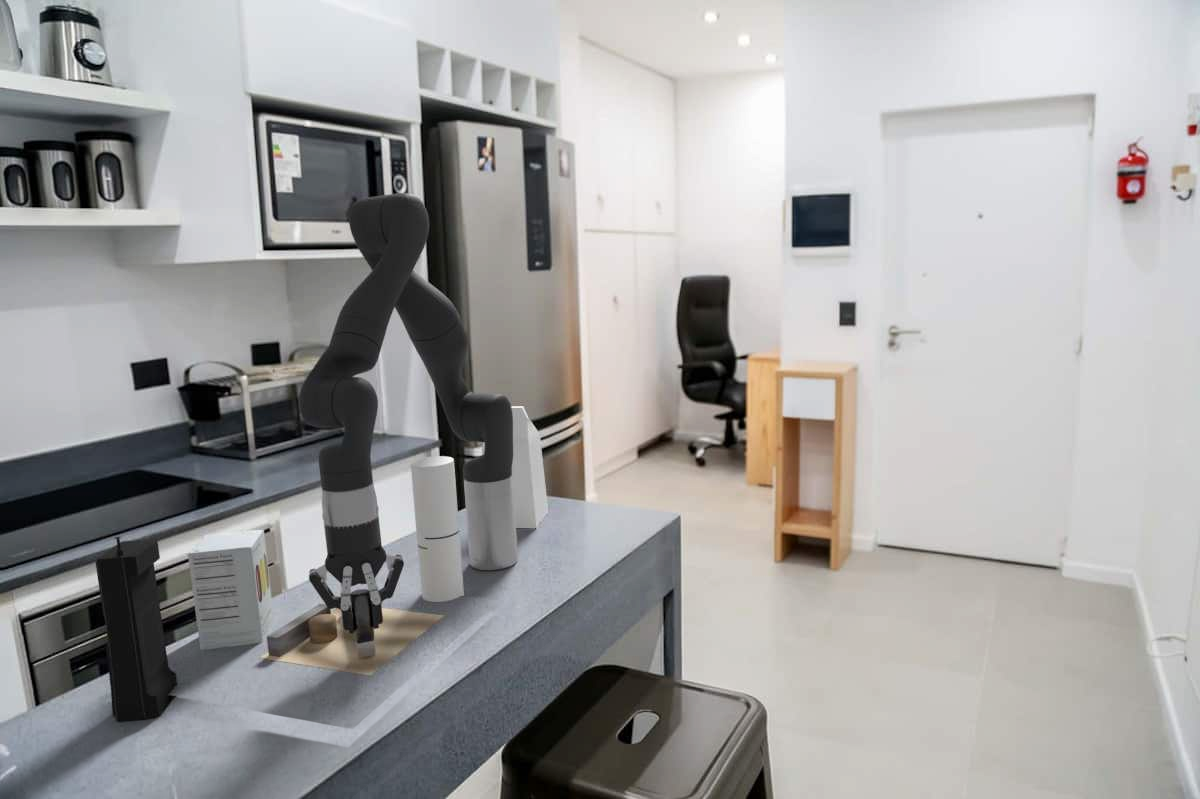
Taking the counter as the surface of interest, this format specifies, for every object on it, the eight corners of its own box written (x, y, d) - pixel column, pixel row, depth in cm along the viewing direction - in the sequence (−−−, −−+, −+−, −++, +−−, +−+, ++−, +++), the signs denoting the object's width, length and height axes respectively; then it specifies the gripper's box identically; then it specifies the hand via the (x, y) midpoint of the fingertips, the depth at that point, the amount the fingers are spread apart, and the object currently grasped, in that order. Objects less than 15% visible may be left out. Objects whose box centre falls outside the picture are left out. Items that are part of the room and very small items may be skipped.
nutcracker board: (344, 611, 141) (342, 586, 140) (445, 624, 134) (442, 598, 133) (260, 667, 122) (256, 638, 121) (371, 685, 115) (368, 655, 115)
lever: (342, 609, 137) (337, 556, 135) (365, 604, 138) (360, 552, 137) (354, 659, 119) (348, 599, 118) (379, 653, 121) (374, 594, 119)
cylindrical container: (455, 611, 139) (444, 466, 135) (415, 609, 140) (403, 466, 136) (470, 593, 146) (460, 456, 142) (432, 592, 147) (421, 456, 143)
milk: (483, 528, 182) (475, 412, 177) (498, 512, 193) (491, 402, 188) (536, 529, 180) (529, 411, 175) (548, 512, 191) (542, 402, 186)
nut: (322, 630, 130) (320, 612, 130) (342, 634, 129) (341, 615, 128) (304, 641, 126) (302, 623, 126) (325, 645, 125) (323, 626, 124)
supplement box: (264, 651, 127) (251, 547, 124) (200, 659, 125) (185, 553, 123) (276, 625, 136) (264, 527, 134) (216, 632, 135) (204, 533, 132)
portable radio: (138, 692, 116) (113, 522, 112) (182, 688, 117) (159, 519, 113) (110, 723, 109) (82, 541, 104) (158, 719, 109) (131, 538, 105)
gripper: (398, 501, 123) (409, 610, 126) (299, 515, 119) (313, 627, 122) (404, 515, 116) (415, 630, 119) (298, 531, 112) (313, 649, 115)
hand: (363, 628), depth 121 cm, fingers closed on lever, 3 cm apart
